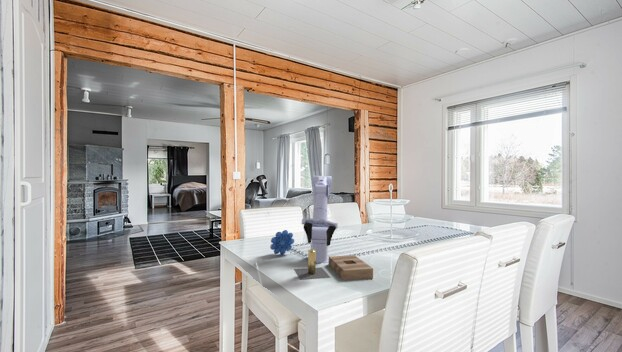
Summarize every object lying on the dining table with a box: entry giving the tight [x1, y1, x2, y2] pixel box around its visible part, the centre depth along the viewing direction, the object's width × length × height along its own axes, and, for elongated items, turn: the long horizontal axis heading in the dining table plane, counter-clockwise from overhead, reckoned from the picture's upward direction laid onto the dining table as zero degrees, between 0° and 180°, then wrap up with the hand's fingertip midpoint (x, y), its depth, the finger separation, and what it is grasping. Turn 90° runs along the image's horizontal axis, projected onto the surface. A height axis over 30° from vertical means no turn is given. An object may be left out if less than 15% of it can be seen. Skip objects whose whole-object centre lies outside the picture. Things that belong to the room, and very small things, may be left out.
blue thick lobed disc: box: [270, 229, 295, 256], centre depth 141 cm, size 12×7×12 cm, turn 100°
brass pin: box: [307, 249, 317, 275], centre depth 114 cm, size 3×3×9 cm
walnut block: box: [328, 254, 374, 281], centre depth 118 cm, size 18×12×4 cm, turn 15°
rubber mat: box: [293, 266, 331, 281], centre depth 114 cm, size 12×12×1 cm
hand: (319, 244), depth 111 cm, fingers open, 7 cm apart
